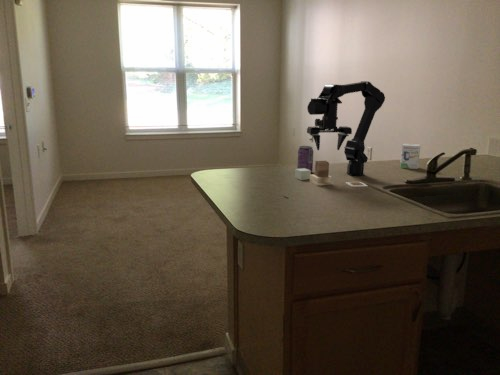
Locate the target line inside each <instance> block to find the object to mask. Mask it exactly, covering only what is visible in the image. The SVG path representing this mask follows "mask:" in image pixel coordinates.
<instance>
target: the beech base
mask: <svg viewBox="0 0 500 375" xmlns="http://www.w3.org/2000/svg"><path fill="white" fill-rule="evenodd" d="M309 182H310V183H312V184H313V185H315V186H325V185H328V186H329V185H333V176H331V175H329V174H328V177H317V176H316V175H315V173H313V174H310V179H309Z"/></svg>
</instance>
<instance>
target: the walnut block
mask: <svg viewBox="0 0 500 375" xmlns="http://www.w3.org/2000/svg"><path fill="white" fill-rule="evenodd" d="M314 162H315V163H314V174H315V175H316V176H317V177H328V175H329V170H330V162H328V161H327V160H315V161H314Z"/></svg>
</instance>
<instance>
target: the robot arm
mask: <svg viewBox="0 0 500 375" xmlns="http://www.w3.org/2000/svg"><path fill="white" fill-rule="evenodd" d="M358 92H360V93H361V96H363V98H364V102H363V104H364V110H363V113H362V115H361V118H360V120H359V123H358V126H357V128H356V132H355V133H354V136H353V138H352V139H351V140H350V139H347V141H346V144H345V146H344V155H345V158H346V161H348V163H347V167H346V168H347V170H346V174H348V175H350V176H351V177H352V176H353V177H355V176H356V177H357V176H365V173H364V168H365V164H366V163H367V162H368V159H369V158H368V157H367V155H366V154H365V149H366V147H365V146H366V145H365V140H366V137H367V135H368V132H369V130H370V127H371V125H372V122H373V119H374V117H375V114H376V113H377V111H379V109H381V108H382V106H383V105H384V102H385V100H386V95H385V93H384V92H383V91H382V90H380V89H379V88H378V87H376V86H375V85H373V84H372V83H371V81H367V80H366V81H365V80H364V81H359V82H353V83H346V84H333V83H332V84H329V83H327V84H325V85H324V86H323V87H322V91H321V92H320V93H319V95H318V97H317V98H316V97H315V98H312V97H311V98H310V101H309V102H308V105H307V108H306V109H307V113H308V114H309V115H313V116H315V115H316V116H317V115H322V116H321V117H322V118H315V119H314V126H308V127H307V128H306V133H307V134H308V135H309V136H312V138H313V140H314V142H315V147H316V150H317V151H320V147H321V146H320V143H321V135H320V133H337V145H336V150H337V151H339V150H340V149H341V147H342V145H343V143H344V141H345V140H346V138H347V137H349V135H353V133H352V132H353V130H352V128H351V127H349V126H337V123H338V122H337V121H338V120H339V118H338V104H339V105H340V104H342V103H343V101H342V100H340V98H342V97H343V96H344V95H347V94H353V93H358Z"/></svg>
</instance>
